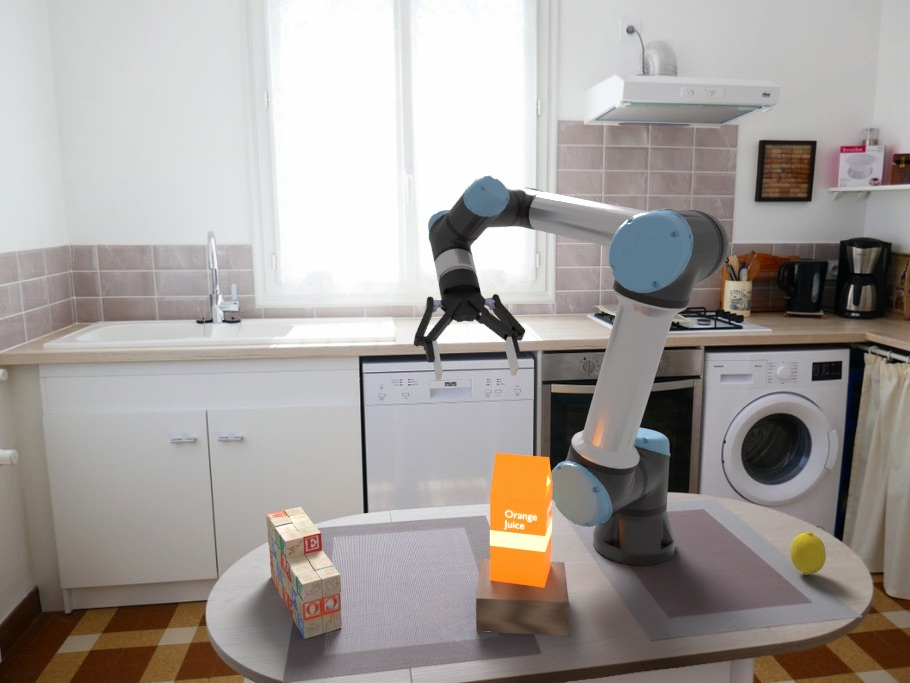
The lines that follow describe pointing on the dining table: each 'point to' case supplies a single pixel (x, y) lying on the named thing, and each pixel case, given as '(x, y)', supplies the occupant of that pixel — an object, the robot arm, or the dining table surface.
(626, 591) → the dining table surface
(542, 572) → the orange juice
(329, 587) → the stack of blocks
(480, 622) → the base brick
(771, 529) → the dining table surface
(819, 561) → the lemon
